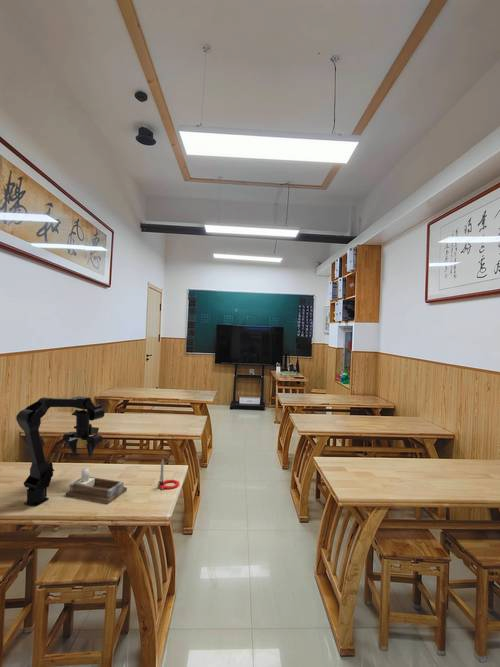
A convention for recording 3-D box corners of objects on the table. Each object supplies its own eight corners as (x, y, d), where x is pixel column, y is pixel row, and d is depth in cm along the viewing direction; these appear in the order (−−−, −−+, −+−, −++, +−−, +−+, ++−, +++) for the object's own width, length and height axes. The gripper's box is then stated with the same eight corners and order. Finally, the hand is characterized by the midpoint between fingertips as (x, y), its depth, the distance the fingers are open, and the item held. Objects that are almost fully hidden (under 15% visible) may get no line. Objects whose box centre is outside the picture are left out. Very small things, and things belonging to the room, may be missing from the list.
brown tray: (108, 503, 136) (108, 493, 136) (65, 496, 142) (65, 485, 142) (126, 490, 148) (126, 480, 148) (86, 484, 154) (86, 474, 154)
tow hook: (176, 481, 160) (157, 483, 156) (178, 454, 160) (159, 456, 156) (181, 488, 152) (161, 491, 148) (183, 460, 152) (162, 462, 148)
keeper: (84, 491, 143) (85, 472, 143) (75, 489, 144) (75, 471, 144) (94, 485, 149) (94, 467, 149) (85, 483, 150) (85, 466, 150)
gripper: (110, 420, 161) (110, 452, 161) (80, 417, 167) (80, 447, 167) (93, 426, 151) (93, 460, 151) (62, 422, 156) (61, 455, 156)
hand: (82, 455), depth 156 cm, fingers open, 9 cm apart
